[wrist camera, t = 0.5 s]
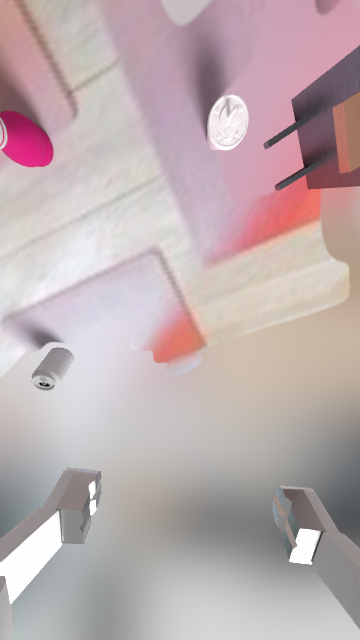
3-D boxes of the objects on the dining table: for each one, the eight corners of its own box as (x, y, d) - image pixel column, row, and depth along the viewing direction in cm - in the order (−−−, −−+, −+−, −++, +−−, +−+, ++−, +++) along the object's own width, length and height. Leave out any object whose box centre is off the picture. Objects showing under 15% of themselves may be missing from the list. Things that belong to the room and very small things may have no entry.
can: (50, 361, 67) (29, 390, 56) (49, 343, 63) (26, 372, 53) (74, 365, 68) (58, 394, 58) (75, 348, 64) (57, 376, 54)
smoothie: (233, 113, 38) (263, 75, 26) (231, 157, 41) (257, 140, 29) (199, 117, 38) (213, 80, 26) (200, 160, 41) (213, 144, 29)
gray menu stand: (257, 123, 39) (329, 63, 22) (297, 95, 37) (409, 7, 20) (279, 206, 46) (345, 210, 29) (313, 186, 44) (404, 178, 27)
